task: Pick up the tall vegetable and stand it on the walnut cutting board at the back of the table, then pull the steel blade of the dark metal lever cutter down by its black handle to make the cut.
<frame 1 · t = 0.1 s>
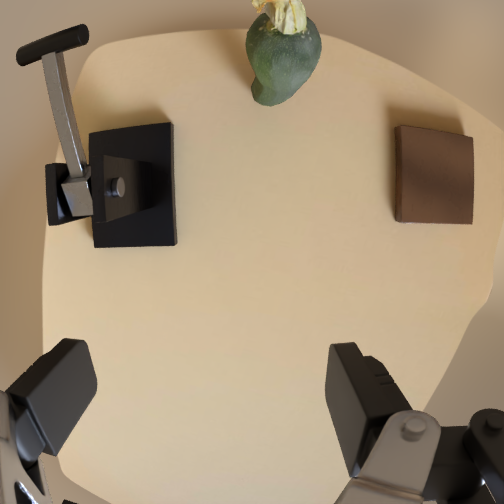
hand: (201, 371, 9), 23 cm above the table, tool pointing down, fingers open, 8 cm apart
vegetable: (270, 100, 29), on the table
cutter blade: (66, 126, 17), point 13 cm above the table, hinge at 30.0°
cutter: (132, 186, 30), on the table
board: (434, 176, 30), on the table
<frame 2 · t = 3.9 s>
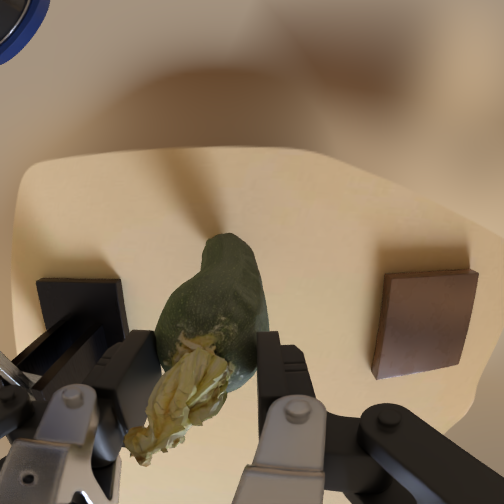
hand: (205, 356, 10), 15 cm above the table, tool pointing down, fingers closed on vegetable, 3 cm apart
vegetable: (230, 253, 25), on the table, touching gripper
cutter: (89, 337, 27), on the table
board: (424, 321, 27), on the table
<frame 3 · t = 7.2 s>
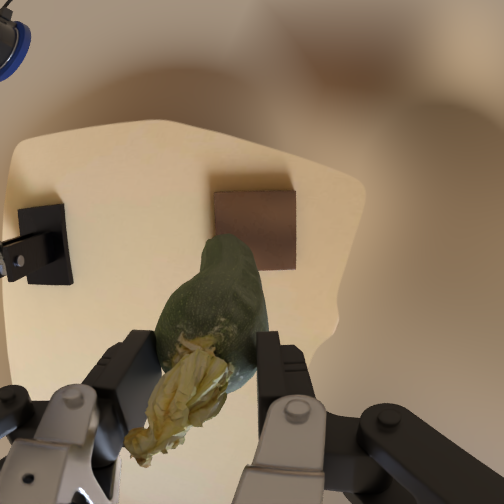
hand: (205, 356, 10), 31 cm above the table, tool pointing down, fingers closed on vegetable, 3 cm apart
vegetable: (229, 253, 25), point 16 cm above the table, touching gripper
cutter: (45, 245, 41), on the table
board: (255, 230, 41), on the table
when the fingers open (17 cm above the table, at t = 10.9 s): vegetable stays where it is, resting on board.
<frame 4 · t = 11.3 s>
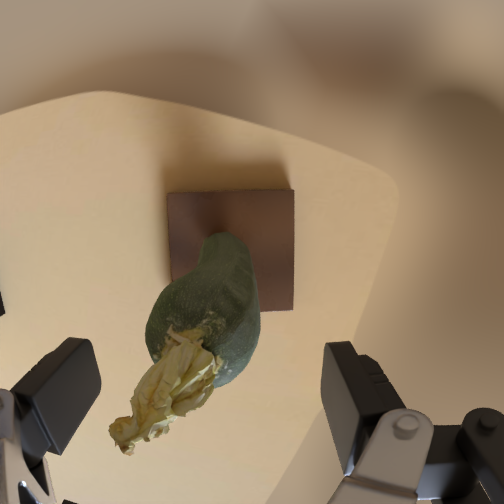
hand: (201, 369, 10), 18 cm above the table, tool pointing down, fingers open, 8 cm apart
vegetable: (228, 252, 26), point 1 cm above the table, touching board
board: (232, 250, 27), on the table
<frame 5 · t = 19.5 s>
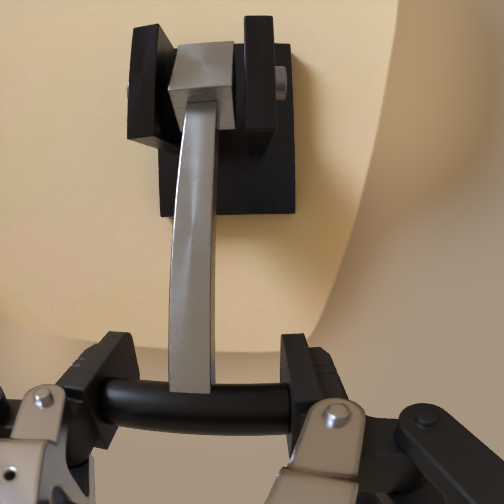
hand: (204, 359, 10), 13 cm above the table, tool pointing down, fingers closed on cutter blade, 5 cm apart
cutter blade: (196, 203, 9), point 13 cm above the table, hinge at 30.0°, touching gripper
cutter: (226, 127, 21), on the table
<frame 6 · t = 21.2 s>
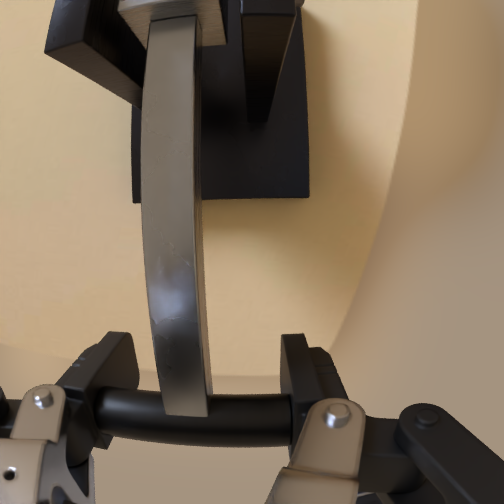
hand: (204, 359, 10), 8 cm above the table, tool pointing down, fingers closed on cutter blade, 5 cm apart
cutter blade: (172, 181, 6), point 10 cm above the table, hinge at 3.5°, touching gripper
cutter: (218, 89, 15), on the table
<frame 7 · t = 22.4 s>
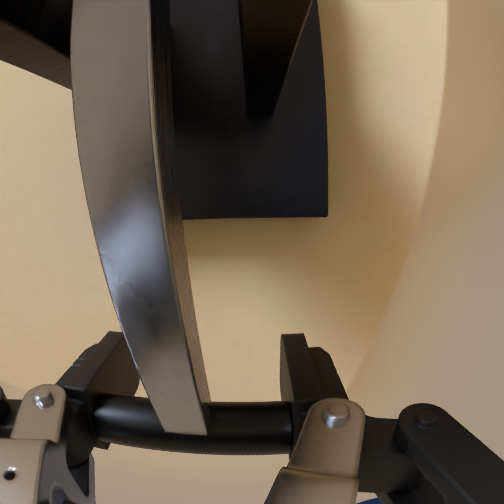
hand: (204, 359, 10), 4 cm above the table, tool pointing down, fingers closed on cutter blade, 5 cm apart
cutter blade: (136, 206, 4), point 9 cm above the table, hinge at -16.4°, touching gripper
cutter: (209, 74, 12), on the table
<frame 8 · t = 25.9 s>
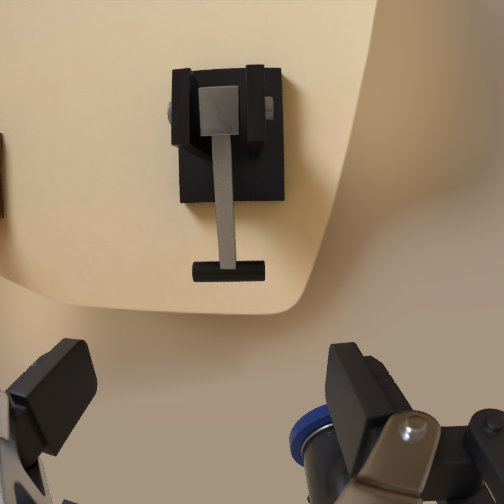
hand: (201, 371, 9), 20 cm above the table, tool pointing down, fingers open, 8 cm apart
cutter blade: (224, 191, 20), point 9 cm above the table, hinge at -16.7°
cutter: (231, 134, 27), on the table
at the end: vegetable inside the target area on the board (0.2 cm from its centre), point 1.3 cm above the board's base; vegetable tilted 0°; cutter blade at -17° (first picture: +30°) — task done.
